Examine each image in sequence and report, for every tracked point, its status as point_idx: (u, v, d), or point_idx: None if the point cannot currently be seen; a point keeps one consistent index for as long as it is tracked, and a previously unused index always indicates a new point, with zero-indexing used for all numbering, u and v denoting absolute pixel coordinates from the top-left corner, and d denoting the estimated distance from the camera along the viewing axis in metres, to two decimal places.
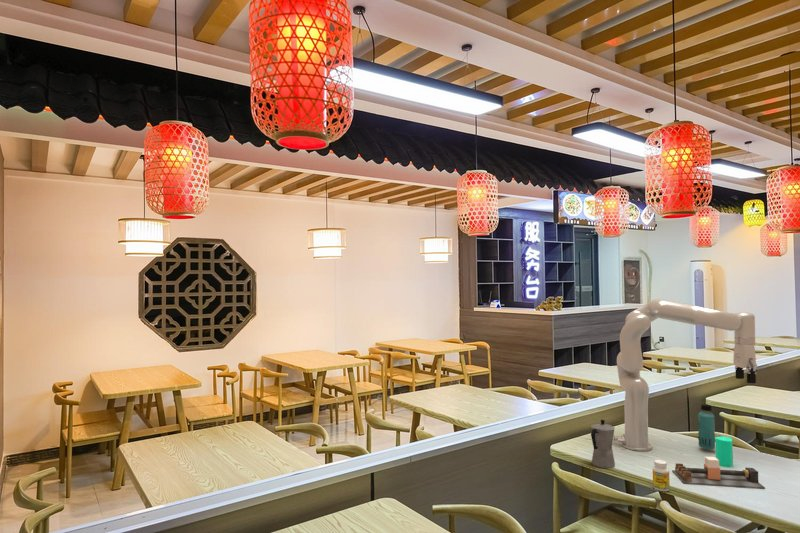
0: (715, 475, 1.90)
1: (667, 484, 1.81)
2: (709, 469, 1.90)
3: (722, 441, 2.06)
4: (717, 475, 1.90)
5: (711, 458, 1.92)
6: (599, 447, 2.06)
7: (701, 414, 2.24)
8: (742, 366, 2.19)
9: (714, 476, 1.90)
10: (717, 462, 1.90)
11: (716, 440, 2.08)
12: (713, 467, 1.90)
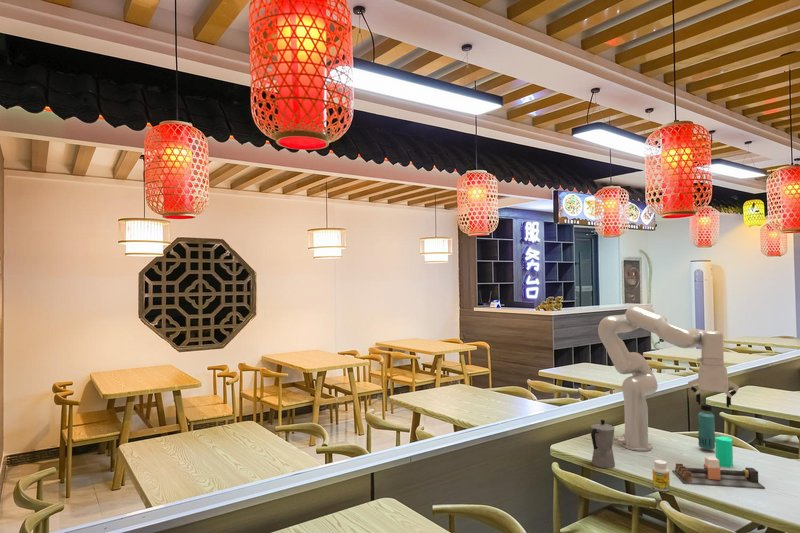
0: (715, 475, 1.90)
1: (667, 484, 1.81)
2: (709, 469, 1.90)
3: (722, 441, 2.06)
4: (717, 475, 1.90)
5: (711, 458, 1.92)
6: (599, 447, 2.06)
7: (701, 414, 2.24)
8: (724, 390, 1.99)
9: (714, 476, 1.90)
10: (717, 462, 1.90)
11: (716, 440, 2.08)
12: (713, 467, 1.90)
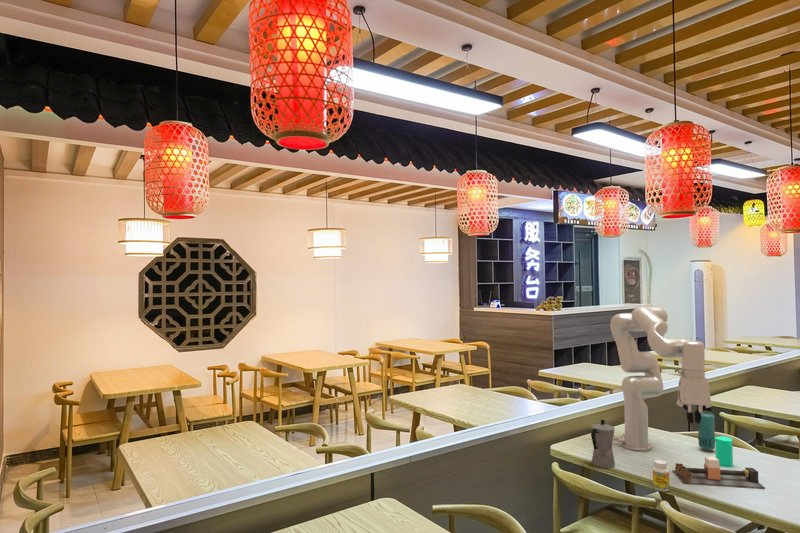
0: (715, 475, 1.90)
1: (667, 484, 1.81)
2: (709, 469, 1.90)
3: (722, 441, 2.06)
4: (717, 475, 1.90)
5: (711, 458, 1.92)
6: (599, 447, 2.06)
7: (701, 414, 2.24)
8: (706, 403, 1.90)
9: (714, 476, 1.90)
10: (717, 462, 1.90)
11: (716, 440, 2.08)
12: (713, 467, 1.90)
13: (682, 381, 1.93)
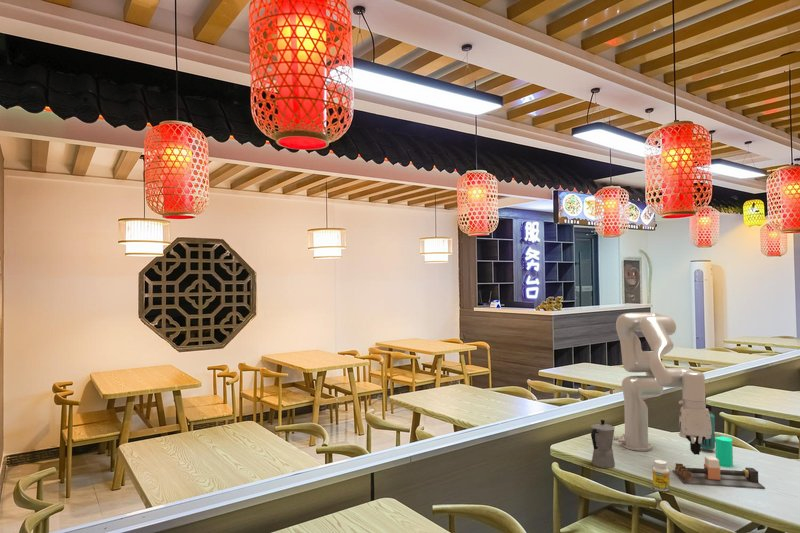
0: (715, 475, 1.90)
1: (667, 484, 1.81)
2: (709, 469, 1.90)
3: (722, 441, 2.06)
4: (717, 475, 1.90)
5: (711, 458, 1.92)
6: (599, 447, 2.06)
7: None
8: (708, 434, 1.89)
9: (714, 476, 1.90)
10: (717, 462, 1.90)
11: (716, 440, 2.08)
12: (713, 467, 1.90)
13: (683, 412, 1.92)
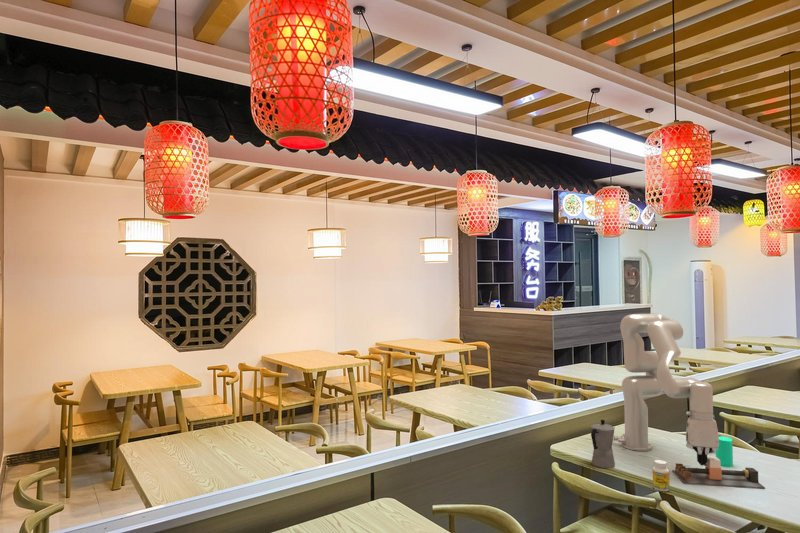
0: (716, 475, 1.90)
1: (667, 484, 1.81)
2: (710, 469, 1.90)
3: (722, 441, 2.06)
4: (718, 475, 1.89)
5: (712, 458, 1.92)
6: (599, 447, 2.06)
7: None
8: (715, 445, 1.89)
9: (715, 476, 1.90)
10: (718, 462, 1.90)
11: None
12: (714, 467, 1.90)
13: (690, 423, 1.92)
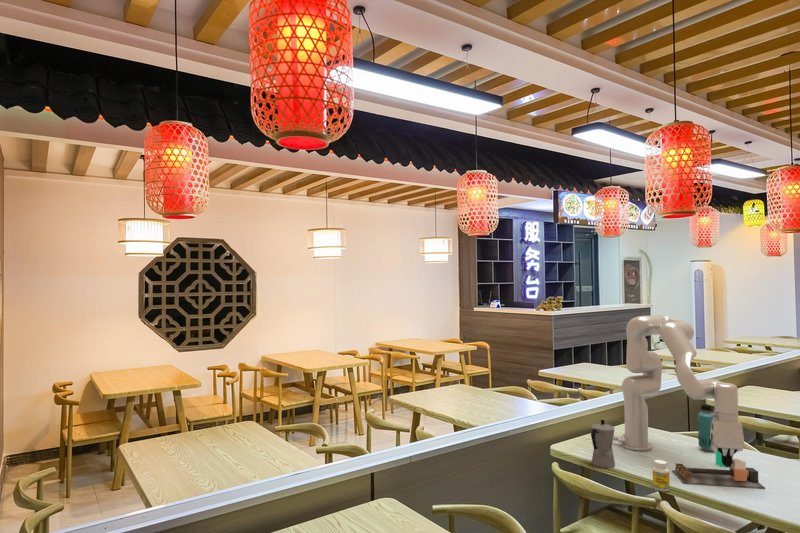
0: (741, 477, 1.88)
1: (667, 484, 1.81)
2: (735, 471, 1.89)
3: None
4: (743, 477, 1.88)
5: (737, 459, 1.90)
6: (599, 447, 2.06)
7: (701, 414, 2.24)
8: (740, 447, 1.88)
9: (740, 478, 1.88)
10: (743, 463, 1.88)
11: None
12: (739, 468, 1.89)
13: (715, 424, 1.90)
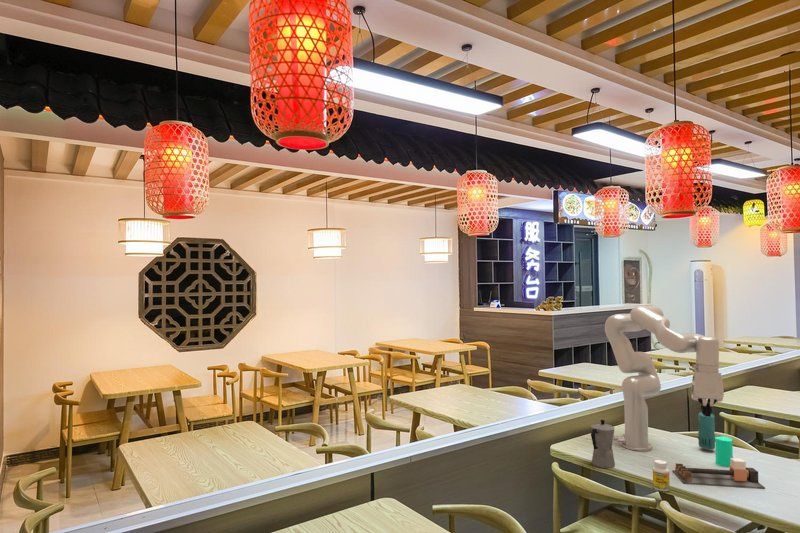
0: (741, 477, 1.88)
1: (667, 484, 1.81)
2: (735, 471, 1.89)
3: (722, 441, 2.06)
4: (743, 477, 1.88)
5: (737, 459, 1.90)
6: (599, 447, 2.06)
7: (701, 414, 2.24)
8: (720, 397, 1.95)
9: (740, 478, 1.88)
10: (743, 463, 1.88)
11: (716, 440, 2.08)
12: (739, 468, 1.89)
13: (696, 375, 1.97)
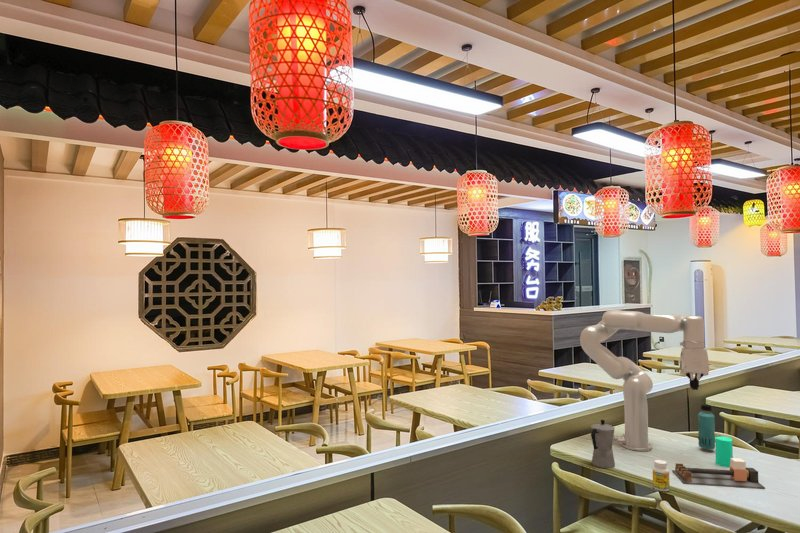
0: (741, 477, 1.88)
1: (667, 484, 1.81)
2: (735, 471, 1.89)
3: (722, 441, 2.06)
4: (743, 477, 1.88)
5: (737, 459, 1.90)
6: (599, 447, 2.06)
7: (701, 414, 2.24)
8: (706, 371, 2.11)
9: (740, 478, 1.88)
10: (743, 463, 1.88)
11: (716, 440, 2.08)
12: (739, 468, 1.89)
13: (683, 352, 2.14)
